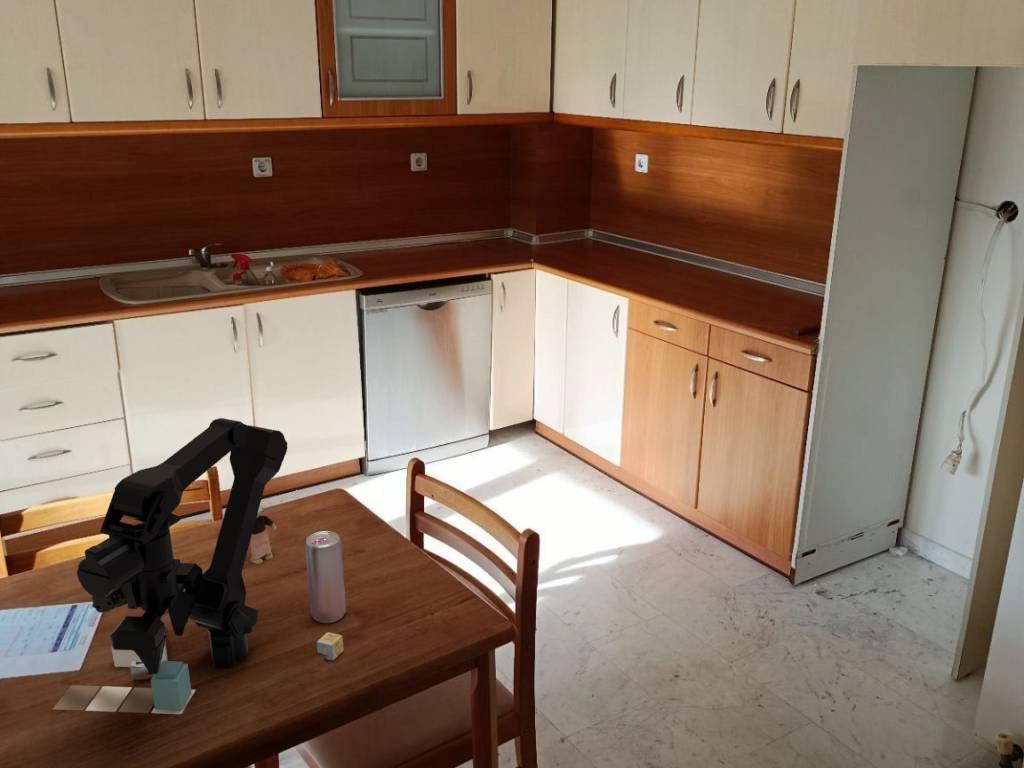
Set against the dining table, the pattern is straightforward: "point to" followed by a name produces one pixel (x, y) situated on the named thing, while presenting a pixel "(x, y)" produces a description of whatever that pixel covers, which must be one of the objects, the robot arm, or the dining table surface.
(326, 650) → the alphabet block
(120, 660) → the die
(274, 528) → the grandmother figurine
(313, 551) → the beverage can
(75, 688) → the game strip
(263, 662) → the dining table surface
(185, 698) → the teal rectangular block
